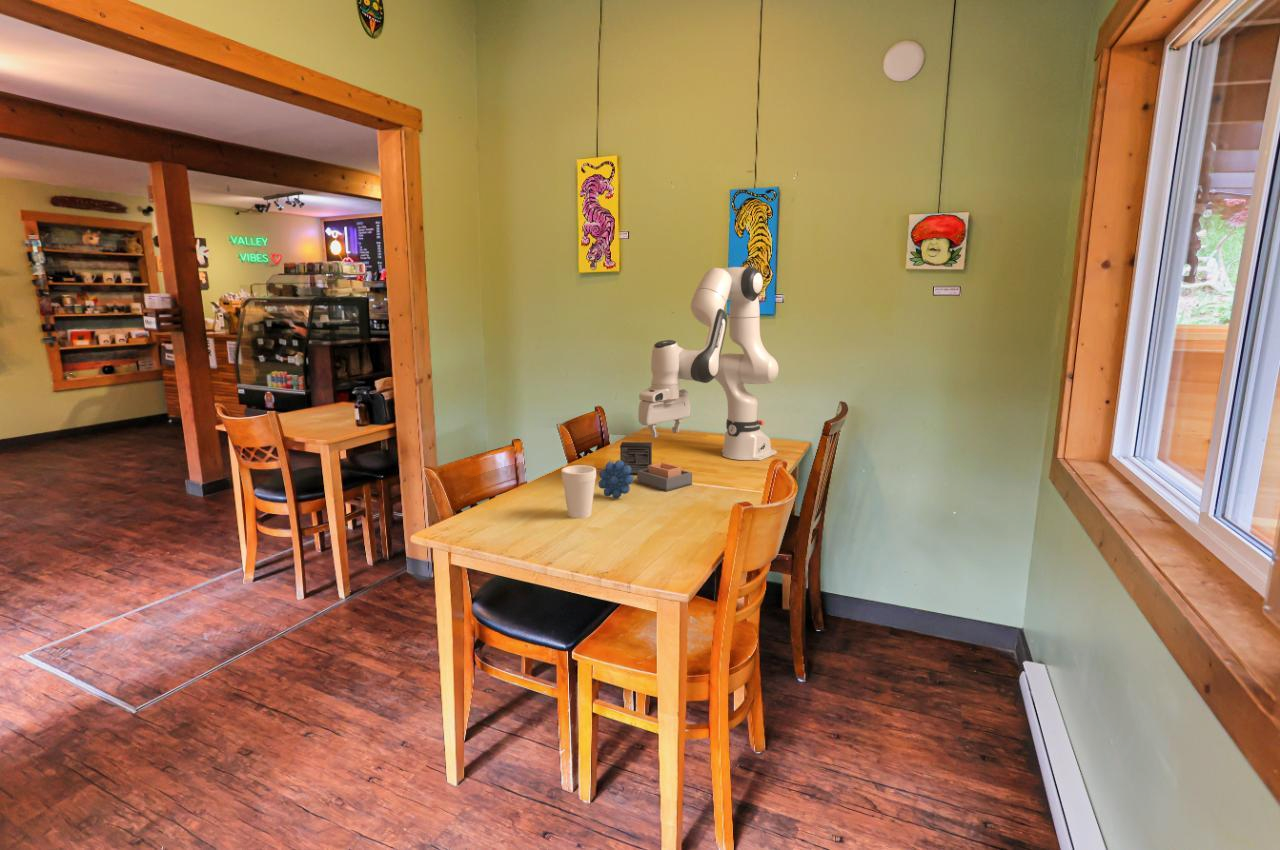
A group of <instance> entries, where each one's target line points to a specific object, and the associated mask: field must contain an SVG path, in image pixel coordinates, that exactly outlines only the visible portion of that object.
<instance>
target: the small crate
mask: <svg viewBox="0 0 1280 850" xmlns="http://www.w3.org/2000/svg"><path fill="white" fill-rule="evenodd" d="M681 470H682V467H681V466H678V465H674V464H670V463H666V462H662V461H661V462H656V463H652V465H649V473H650V474H653V475H657V476H660V477H664V478H670V477H674V476H678V475H681Z"/></svg>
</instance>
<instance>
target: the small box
mask: <svg viewBox="0 0 1280 850" xmlns="http://www.w3.org/2000/svg"><path fill="white" fill-rule="evenodd" d="M619 447H620V450H619V451H620V455H619V456H620V459H619V460H621V461H623V463H624V466H626V465H628V466H630V467H631V473H630V474H629V475H632V476H637V471H639V470H643V469H647V468H649V465H652V464H653V462H652V461H653V457H652V456H653V454H652V452H653V451H652V448H653V447H652V442H650V441H649V442H648V441H647V442H641V441H638V442H637V441H636V442H634V441H633V442H631V441H622V442H621V443H620V446H619ZM624 466H623V467H624Z"/></svg>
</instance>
